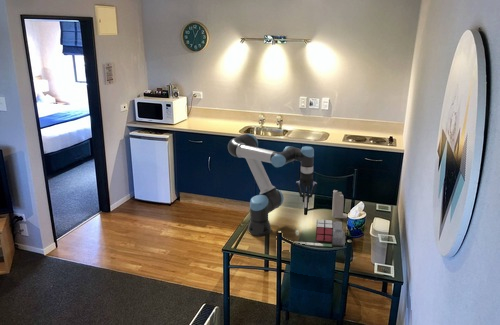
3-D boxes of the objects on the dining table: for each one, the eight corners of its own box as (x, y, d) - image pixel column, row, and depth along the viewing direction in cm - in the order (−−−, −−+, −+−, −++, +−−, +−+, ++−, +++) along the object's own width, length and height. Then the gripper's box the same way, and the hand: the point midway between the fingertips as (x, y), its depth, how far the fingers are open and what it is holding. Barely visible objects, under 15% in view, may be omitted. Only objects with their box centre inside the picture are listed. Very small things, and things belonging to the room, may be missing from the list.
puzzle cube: (332, 242, 248) (333, 228, 244) (315, 240, 249) (316, 226, 246) (331, 233, 257) (332, 220, 253) (316, 232, 258) (316, 219, 255)
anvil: (332, 244, 244) (333, 231, 241) (331, 231, 259) (332, 219, 256) (345, 246, 243) (346, 232, 240) (344, 232, 258) (345, 220, 254)
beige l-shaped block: (353, 218, 275) (355, 192, 268) (332, 218, 275) (334, 192, 268) (350, 213, 282) (352, 187, 275) (331, 213, 282) (332, 187, 275)
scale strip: (293, 243, 247) (293, 243, 246) (293, 241, 249) (293, 241, 249) (331, 246, 242) (331, 246, 242) (331, 244, 245) (331, 244, 244)
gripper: (295, 173, 238) (294, 208, 246) (317, 174, 235) (315, 210, 244) (296, 169, 244) (295, 203, 253) (318, 170, 242) (316, 204, 251)
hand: (305, 206), depth 248 cm, fingers closed
